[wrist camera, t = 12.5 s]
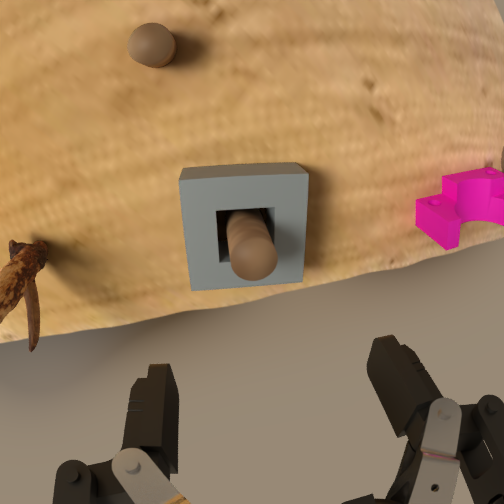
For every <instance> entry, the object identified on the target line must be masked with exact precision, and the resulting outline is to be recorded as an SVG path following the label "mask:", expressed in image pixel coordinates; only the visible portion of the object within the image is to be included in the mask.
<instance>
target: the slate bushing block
mask: <svg viewBox="0 0 504 504" xmlns="http://www.w3.org/2000/svg"><path fill="white" fill-rule="evenodd" d="M308 180H309V174H308V173H307V172H306V171H305V170H304V169H303V168H301V167H300V166H299V165H298V164H297V163H296V162H295V163H257V164H235V165H218V166H203V167H190V168H183V170H182V172H181V175H180V178H179V190H180V200H181V210H182V219H183V228H184V237H185V245H186V254H187V261H188V269H189V277H190V284H191V291H199V290H213V289H227V288H240V287H252V286H264V285H276V284H287V283H298V282H302V281H303V268H304V254H305V239H306V222H307V203H308ZM250 208H266V227H267V230H268V232H269V235H270V237H271V240H272V242H273V244H274V247H275V249H276V252H277V255H278V262H277V266H276V268H275V270H274V271H273V272H272V273H271V274H270V275H269V276H267V277H266V278H264V279H261V280H258V281H248V280H244V279H242V278H240V277H238V276H237V275H236V274H235V273H234V271H233V270H232V267H231V262H230V254H229V247H228V240H227V241H218V234H217V219H216V211H218V210H233V209H250Z"/></svg>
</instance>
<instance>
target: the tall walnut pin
mask: <svg viewBox="0 0 504 504" xmlns="http://www.w3.org/2000/svg"><path fill="white" fill-rule="evenodd" d="M225 224H226V231H227V239H228V247H229V254H230V262H231V267H232V270H233V271H234V273H235V274H236V275H237V276H238V277H240V278H242V279H244V280H248V281H258V280H261V279H264V278H266V277H267V276H269V275H270V274H271V273H272V272H273V271H274V270H275V268H276V266H277V262H278V255H277V252H276V249H275V247H274V244H273V242H272V240H271V237H270V235H269V232H268V230H267V227H266V225H265V222H264V220H263V217H262V215H261V213H260V210H259V208H250V209H233V210H226V212H225Z"/></svg>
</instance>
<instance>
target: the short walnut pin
mask: <svg viewBox="0 0 504 504" xmlns="http://www.w3.org/2000/svg"><path fill="white" fill-rule="evenodd" d="M127 48H128V53H129V55H130V56H131V58H132V59H134V60H135V61H136V62H139V63H141V64H143V65H146V66H148V67H152V68H159V67H162V66H165V65H167V64H168V63H170V62H171V61H172V59H173V58H174V57H175V55H176V51H177V44H176V41H175V39H174V38H173V36H172V35H171V33H170V32H169V30H168V29H167V28H166V27H165V26H163V25H161V24H158V23H147V24H144V25H142V26H140V27H138V28H137V29H135V30H134V31H133V33H132V34H131V35H130V37H129V40H128V44H127Z"/></svg>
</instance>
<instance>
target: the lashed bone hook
mask: <svg viewBox="0 0 504 504" xmlns="http://www.w3.org/2000/svg"><path fill="white" fill-rule="evenodd" d="M9 252H10V259H11V260H10V261H9V262H8V263H6V265H5V266H4V267H3V268H1V269H0V323H1V322H2V321H3V319H4V318H5V316H6V315H7V314H8V313H9V312H10V311H12V310H13V309H14V308H15V307H16V305H17V304H18V302H19V300H20V299H21V298H22V297H23V296H24V298H25V303H26V308H27V317H28V332H29V333H28V334H29V351H30V352H32V351H33V350H34V349H35V347H36V345H37V343H38V340H39V333H40V307H39V299H38V292H37V287H36V283H35V277H36V274H37V273H38V272H39V271H40V270H41V269H43V268H44V266H45V263H46V261H47V260H48V259H47V255H48V249H47V246H46V244H45V243H44V242H43V241H36V242H35V243H33V244H26V243H17V242H15V241H14V240H11V241H10V242H9Z"/></svg>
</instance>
